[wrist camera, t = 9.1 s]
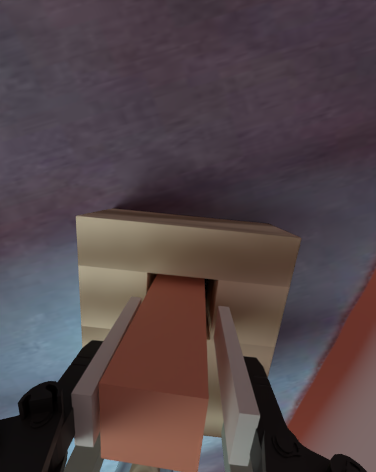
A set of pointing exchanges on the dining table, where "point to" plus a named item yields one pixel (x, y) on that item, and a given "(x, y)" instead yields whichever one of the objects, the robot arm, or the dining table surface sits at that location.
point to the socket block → (190, 265)
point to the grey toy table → (89, 459)
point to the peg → (159, 380)
